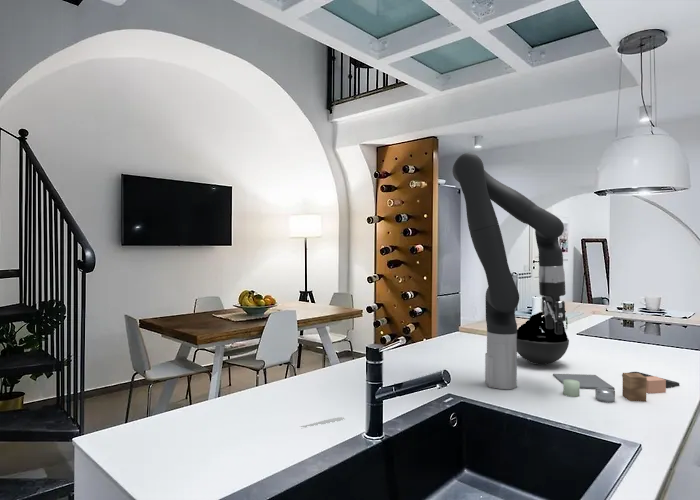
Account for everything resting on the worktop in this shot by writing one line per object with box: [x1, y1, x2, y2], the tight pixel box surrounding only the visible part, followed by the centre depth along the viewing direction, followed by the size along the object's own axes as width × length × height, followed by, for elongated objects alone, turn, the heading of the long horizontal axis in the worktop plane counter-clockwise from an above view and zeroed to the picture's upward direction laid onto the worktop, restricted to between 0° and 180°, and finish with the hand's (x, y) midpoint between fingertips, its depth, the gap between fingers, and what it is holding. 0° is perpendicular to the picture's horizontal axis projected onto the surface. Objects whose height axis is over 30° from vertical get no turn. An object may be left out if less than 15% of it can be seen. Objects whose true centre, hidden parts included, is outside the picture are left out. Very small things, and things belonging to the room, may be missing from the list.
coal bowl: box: [517, 311, 570, 366], centre depth 175 cm, size 20×20×19 cm
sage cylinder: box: [562, 379, 581, 398], centre depth 140 cm, size 4×4×4 cm
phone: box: [621, 371, 680, 389], centre depth 154 cm, size 8×1×15 cm
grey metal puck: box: [594, 387, 616, 404], centre depth 136 cm, size 5×5×3 cm
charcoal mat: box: [552, 373, 615, 391], centre depth 152 cm, size 14×14×1 cm
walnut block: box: [621, 372, 647, 403], centre depth 137 cm, size 4×4×7 cm
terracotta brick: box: [646, 375, 667, 394], centre depth 144 cm, size 6×4×4 cm, turn 100°
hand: (554, 331), depth 146 cm, fingers open, 8 cm apart
